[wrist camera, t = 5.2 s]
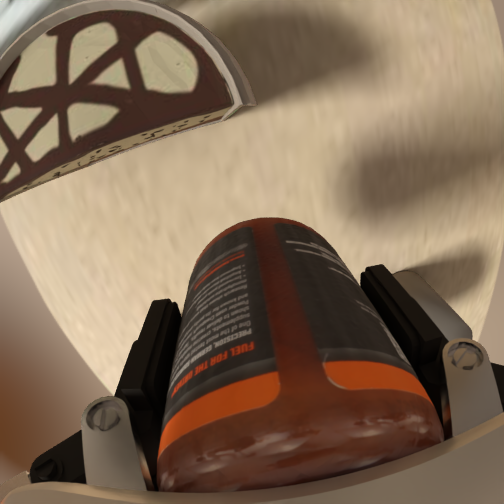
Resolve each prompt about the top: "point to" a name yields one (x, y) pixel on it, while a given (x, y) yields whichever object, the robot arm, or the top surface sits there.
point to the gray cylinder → (434, 306)
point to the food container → (108, 87)
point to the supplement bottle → (284, 370)
